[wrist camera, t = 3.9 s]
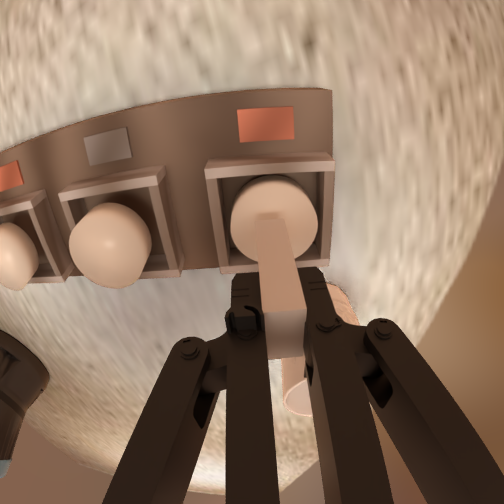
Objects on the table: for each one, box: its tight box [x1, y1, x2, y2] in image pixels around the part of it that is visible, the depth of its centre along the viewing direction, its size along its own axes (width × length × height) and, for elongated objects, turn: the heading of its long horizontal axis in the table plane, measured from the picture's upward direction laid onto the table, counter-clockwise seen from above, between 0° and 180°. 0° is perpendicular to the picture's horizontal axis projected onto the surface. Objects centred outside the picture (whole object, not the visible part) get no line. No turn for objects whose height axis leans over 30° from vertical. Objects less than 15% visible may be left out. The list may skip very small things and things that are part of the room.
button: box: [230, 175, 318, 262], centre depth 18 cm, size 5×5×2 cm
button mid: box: [69, 203, 152, 288], centre depth 17 cm, size 5×5×2 cm
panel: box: [0, 88, 335, 284], centre depth 19 cm, size 28×12×5 cm, turn 94°
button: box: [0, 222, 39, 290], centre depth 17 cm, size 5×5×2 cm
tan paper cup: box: [281, 283, 360, 417], centre depth 24 cm, size 8×8×10 cm
